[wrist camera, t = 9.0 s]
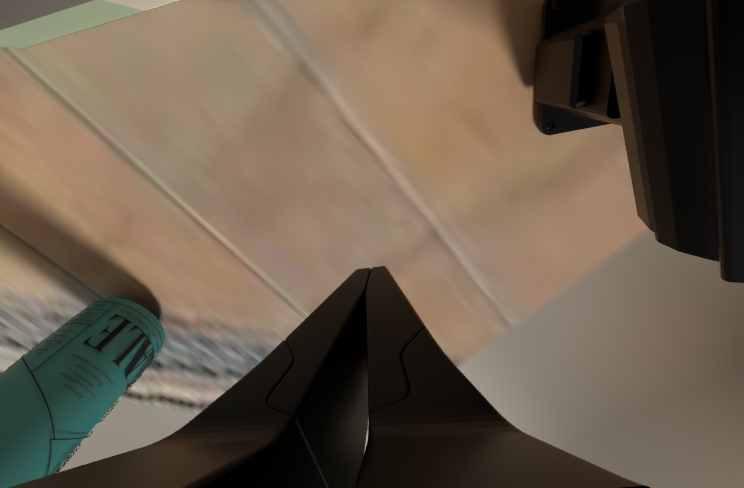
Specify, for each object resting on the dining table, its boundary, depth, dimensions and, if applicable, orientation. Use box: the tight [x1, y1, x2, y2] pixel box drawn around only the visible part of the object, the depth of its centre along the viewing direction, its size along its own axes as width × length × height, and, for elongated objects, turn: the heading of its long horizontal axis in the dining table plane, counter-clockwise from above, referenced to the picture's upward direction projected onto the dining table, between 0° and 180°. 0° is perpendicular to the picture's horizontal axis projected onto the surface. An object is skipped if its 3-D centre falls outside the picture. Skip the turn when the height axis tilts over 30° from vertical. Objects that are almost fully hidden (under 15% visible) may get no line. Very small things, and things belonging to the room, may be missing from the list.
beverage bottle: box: [0, 298, 165, 488], centre depth 18 cm, size 6×7×20 cm
